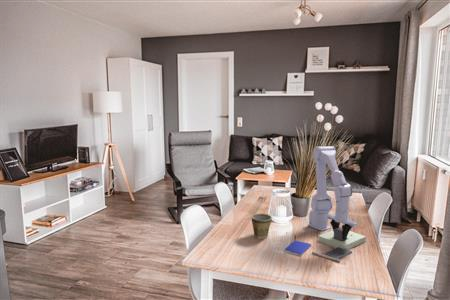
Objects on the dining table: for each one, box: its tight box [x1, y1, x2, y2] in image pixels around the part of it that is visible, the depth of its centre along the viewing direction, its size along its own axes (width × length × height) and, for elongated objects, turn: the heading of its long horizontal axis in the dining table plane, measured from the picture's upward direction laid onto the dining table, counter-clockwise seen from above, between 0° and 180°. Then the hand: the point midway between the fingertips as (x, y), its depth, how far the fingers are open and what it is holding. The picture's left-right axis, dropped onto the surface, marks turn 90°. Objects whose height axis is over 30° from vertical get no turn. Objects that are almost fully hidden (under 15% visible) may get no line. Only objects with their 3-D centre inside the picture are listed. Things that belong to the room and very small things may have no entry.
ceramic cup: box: [251, 213, 273, 240], centre depth 161 cm, size 13×10×10 cm
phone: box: [324, 247, 352, 260], centre depth 142 cm, size 6×11×1 cm, turn 126°
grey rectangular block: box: [334, 226, 346, 242], centre depth 152 cm, size 4×4×6 cm
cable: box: [311, 251, 341, 263], centre depth 139 cm, size 12×1×1 cm, turn 51°
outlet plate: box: [317, 229, 367, 250], centre depth 156 cm, size 14×18×3 cm
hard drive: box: [283, 239, 312, 257], centre depth 147 cm, size 2×8×12 cm
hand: (340, 237), depth 153 cm, fingers closed on grey rectangular block, 4 cm apart
